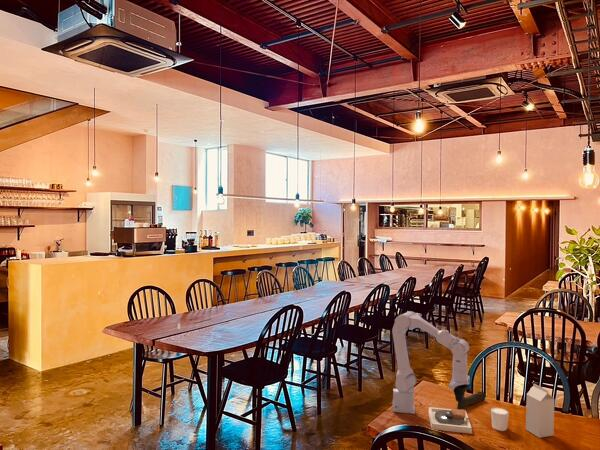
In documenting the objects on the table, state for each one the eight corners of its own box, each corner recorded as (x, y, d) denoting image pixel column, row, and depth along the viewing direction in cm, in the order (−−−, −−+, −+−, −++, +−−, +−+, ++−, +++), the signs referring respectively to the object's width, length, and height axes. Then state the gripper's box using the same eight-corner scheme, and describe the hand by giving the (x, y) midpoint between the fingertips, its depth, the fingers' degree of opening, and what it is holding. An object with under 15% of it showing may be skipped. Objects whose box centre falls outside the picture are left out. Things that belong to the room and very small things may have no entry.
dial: (438, 424, 182) (438, 415, 182) (431, 411, 194) (432, 403, 194) (469, 426, 181) (469, 417, 181) (460, 412, 193) (461, 404, 193)
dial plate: (431, 429, 182) (431, 423, 181) (428, 411, 197) (428, 406, 197) (472, 433, 178) (472, 427, 178) (466, 415, 194) (466, 410, 194)
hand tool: (478, 398, 212) (478, 388, 212) (485, 401, 209) (485, 391, 209) (452, 407, 202) (452, 397, 202) (459, 411, 199) (460, 401, 198)
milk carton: (539, 438, 175) (540, 391, 174) (525, 429, 182) (526, 384, 181) (553, 435, 177) (554, 389, 176) (539, 427, 184) (540, 382, 183)
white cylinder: (509, 426, 185) (509, 409, 184) (507, 433, 179) (508, 416, 178) (491, 421, 188) (491, 405, 188) (489, 428, 182) (489, 412, 182)
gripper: (460, 376, 176) (460, 409, 176) (477, 367, 186) (476, 399, 186) (444, 371, 181) (443, 404, 181) (461, 363, 191) (460, 394, 191)
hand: (459, 401), depth 184 cm, fingers closed
